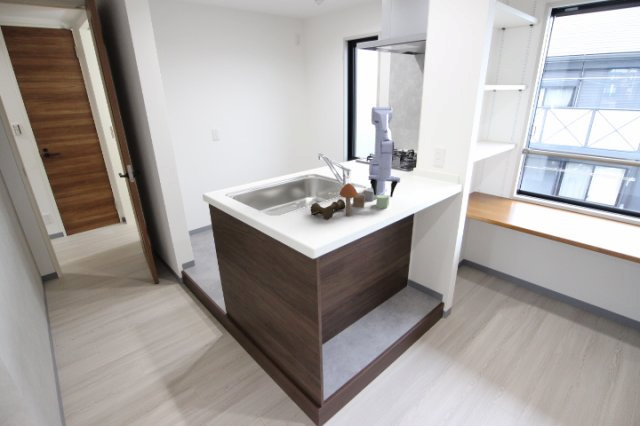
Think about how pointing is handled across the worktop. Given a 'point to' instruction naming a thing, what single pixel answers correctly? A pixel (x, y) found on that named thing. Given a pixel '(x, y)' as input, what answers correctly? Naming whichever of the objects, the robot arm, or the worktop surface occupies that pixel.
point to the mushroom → (348, 196)
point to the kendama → (327, 209)
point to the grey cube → (370, 194)
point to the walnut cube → (359, 200)
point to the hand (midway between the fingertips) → (383, 195)
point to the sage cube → (382, 201)
